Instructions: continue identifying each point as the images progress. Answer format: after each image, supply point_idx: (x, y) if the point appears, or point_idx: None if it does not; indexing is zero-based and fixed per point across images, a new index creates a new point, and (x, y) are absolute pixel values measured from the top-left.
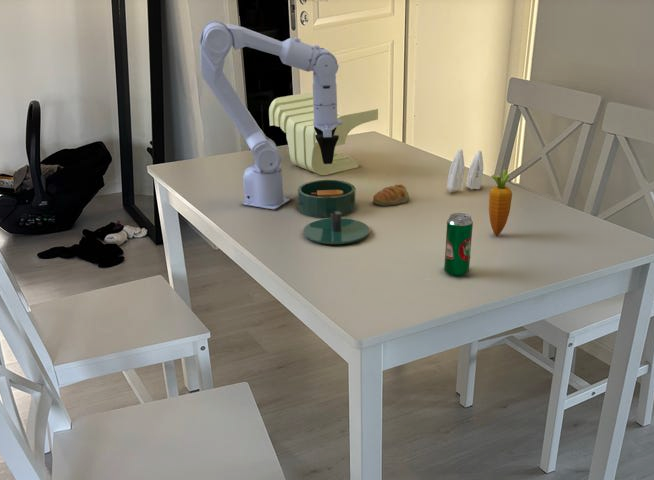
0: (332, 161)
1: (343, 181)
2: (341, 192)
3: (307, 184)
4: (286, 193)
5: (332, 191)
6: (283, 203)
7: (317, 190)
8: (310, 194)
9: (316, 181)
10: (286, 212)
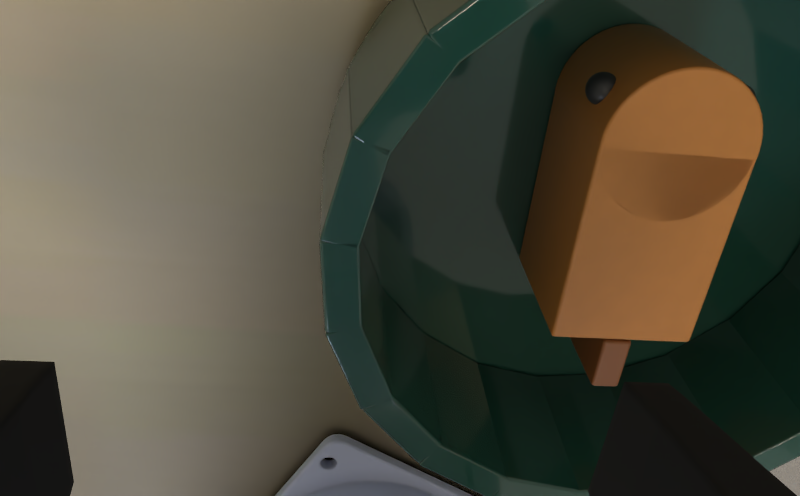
0: (693, 404)
1: (444, 30)
2: (732, 95)
3: (428, 429)
4: (132, 442)
5: (653, 193)
6: (429, 480)
7: (559, 333)
8: (398, 332)
9: (370, 352)
10: None
